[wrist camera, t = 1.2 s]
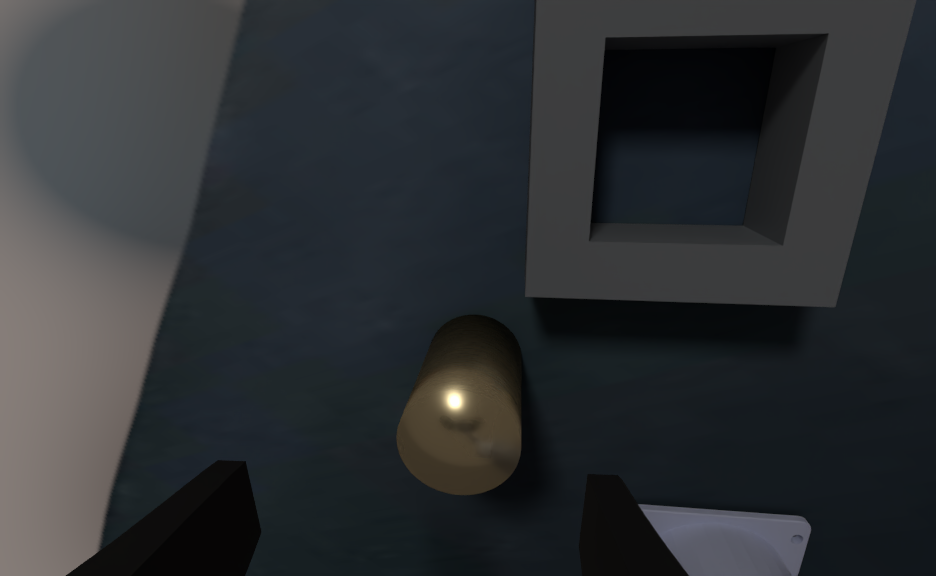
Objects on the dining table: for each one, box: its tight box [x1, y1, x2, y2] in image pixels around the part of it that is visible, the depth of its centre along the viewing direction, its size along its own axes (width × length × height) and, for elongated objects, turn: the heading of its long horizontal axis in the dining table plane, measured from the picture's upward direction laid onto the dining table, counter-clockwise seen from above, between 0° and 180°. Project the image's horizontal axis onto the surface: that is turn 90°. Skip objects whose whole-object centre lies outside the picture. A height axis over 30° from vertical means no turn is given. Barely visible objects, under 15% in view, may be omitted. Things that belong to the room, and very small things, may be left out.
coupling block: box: [525, 0, 916, 307], centre depth 16 cm, size 10×10×3 cm
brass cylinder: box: [397, 315, 521, 495], centre depth 19 cm, size 4×4×6 cm
